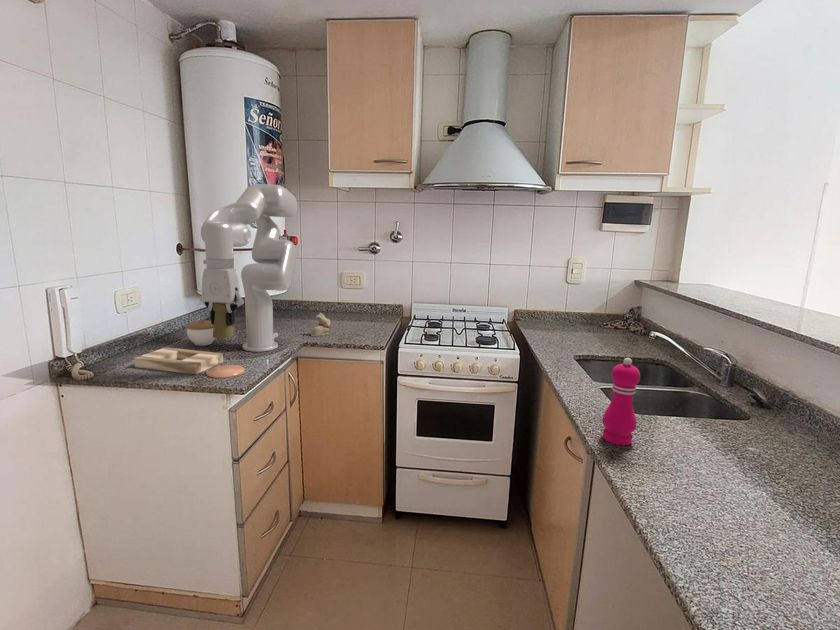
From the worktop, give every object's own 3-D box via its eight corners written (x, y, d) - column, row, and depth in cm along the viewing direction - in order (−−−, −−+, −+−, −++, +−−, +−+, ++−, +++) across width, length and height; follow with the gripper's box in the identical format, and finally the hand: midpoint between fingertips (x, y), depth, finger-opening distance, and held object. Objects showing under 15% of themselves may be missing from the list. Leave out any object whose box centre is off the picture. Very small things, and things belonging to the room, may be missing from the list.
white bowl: (223, 340, 172) (222, 317, 171) (210, 347, 162) (208, 323, 160) (196, 339, 173) (195, 316, 171) (181, 346, 162) (179, 321, 160)
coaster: (221, 365, 143) (221, 363, 143) (251, 368, 141) (251, 366, 141) (198, 375, 133) (198, 374, 133) (230, 379, 131) (230, 377, 131)
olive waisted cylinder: (210, 338, 131) (209, 302, 129) (214, 333, 136) (212, 299, 134) (232, 338, 132) (231, 302, 130) (235, 333, 138) (233, 299, 136)
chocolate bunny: (327, 337, 183) (327, 314, 182) (309, 336, 184) (309, 313, 182) (331, 334, 189) (331, 311, 187) (313, 333, 189) (313, 310, 187)
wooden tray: (166, 355, 151) (165, 347, 150) (223, 362, 146) (222, 353, 146) (134, 367, 138) (134, 358, 138) (196, 374, 134) (195, 365, 133)
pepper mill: (593, 433, 105) (604, 353, 101) (619, 431, 107) (631, 352, 103) (613, 448, 98) (625, 363, 94) (640, 445, 100) (653, 362, 96)
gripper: (186, 263, 128) (190, 324, 132) (238, 267, 125) (240, 329, 129) (203, 262, 135) (206, 319, 139) (252, 265, 132) (254, 324, 136)
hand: (223, 323), depth 134 cm, fingers closed on olive waisted cylinder, 4 cm apart
